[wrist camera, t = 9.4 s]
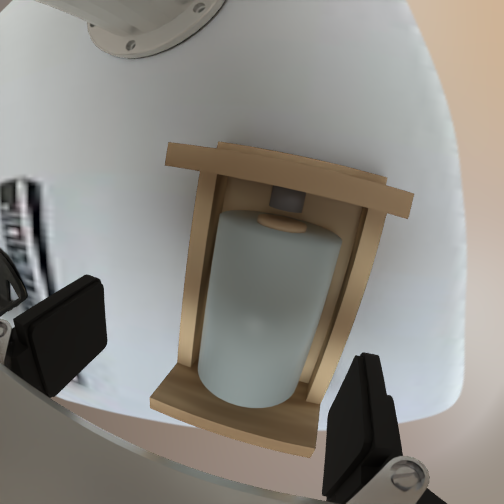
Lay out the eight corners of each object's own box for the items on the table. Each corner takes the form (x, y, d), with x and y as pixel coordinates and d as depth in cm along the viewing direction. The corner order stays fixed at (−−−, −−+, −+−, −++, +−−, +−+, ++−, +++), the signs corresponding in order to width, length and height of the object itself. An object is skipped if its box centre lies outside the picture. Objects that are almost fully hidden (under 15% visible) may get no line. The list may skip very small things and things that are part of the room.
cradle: (223, 142, 19) (170, 130, 12) (384, 177, 17) (416, 181, 10) (192, 356, 23) (150, 413, 17) (316, 392, 22) (307, 462, 15)
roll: (237, 201, 18) (201, 216, 12) (338, 224, 17) (349, 250, 12) (214, 338, 21) (182, 391, 15) (299, 360, 20) (290, 421, 14)
